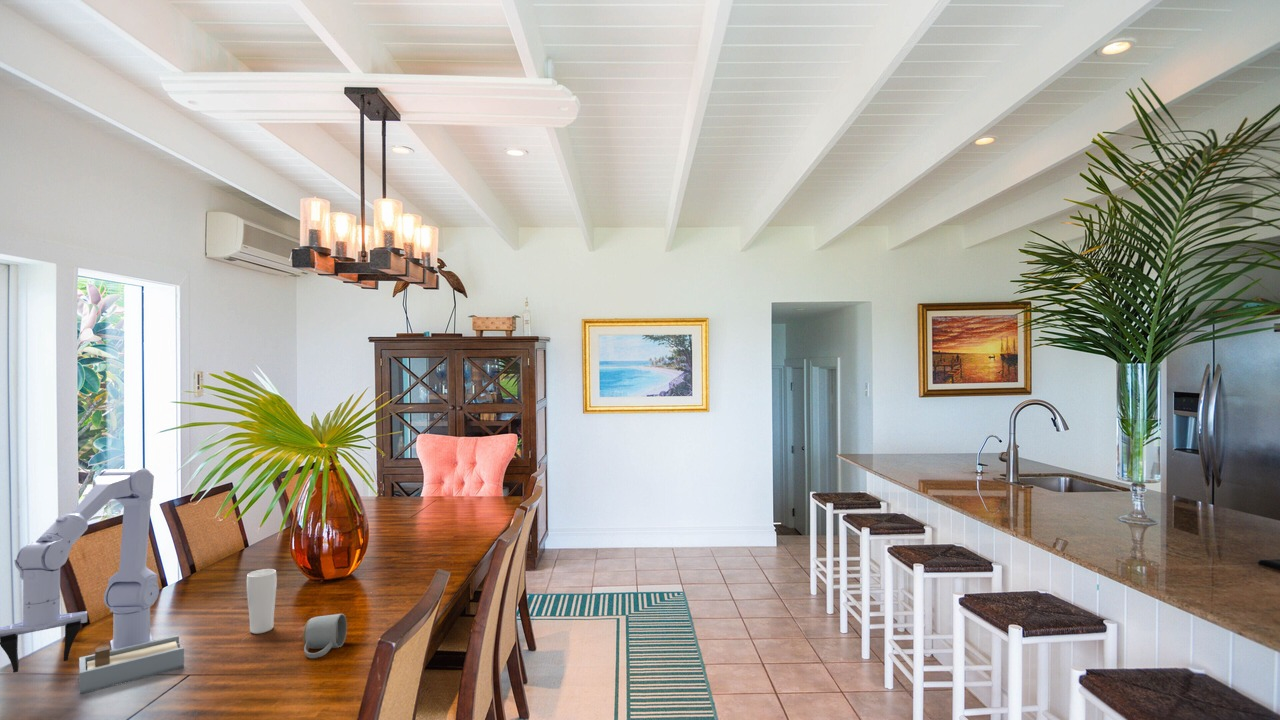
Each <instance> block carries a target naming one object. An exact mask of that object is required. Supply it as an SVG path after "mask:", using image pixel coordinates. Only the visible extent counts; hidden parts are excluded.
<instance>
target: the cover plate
mask: <svg viewBox="0 0 1280 720" xmlns="http://www.w3.org/2000/svg"><path fill="white" fill-rule="evenodd" d="M177 648H178V646H177V643H176V641H173V642H168V643H164V644H160V645H155V646H151V647H147V648H143V649H138V650H134V651H130V652H125V653H121V654H117V655H113V656H110V651H111V650H110V649H111V647H110V645H106V646H102V647H97V648H94V654H95V660H91V661H87V670H89V669H94V668H98V667H102V666H106V665H110V664H114V663H119V662H123V661H127V660H131V659H135V658H139V657H144V656H148V655H152V654H156V653H160V652H164V651H169V650H173V649H177Z"/></svg>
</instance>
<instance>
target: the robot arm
mask: <svg viewBox="0 0 1280 720" xmlns="http://www.w3.org/2000/svg"><path fill="white" fill-rule="evenodd" d="M154 480H155V476H154V475H153V474H152V472H151V471H150V470H148V469H147V468H143V467H141V468H105V469H103V470H101V471H100V472H99V473H98V475H97V476H95V477H94V478H93V480H92V489H90V491H89V492H88V493H87V494H86V496H85V497H84V498H83V499H82V500H81V501H80V502H79V504H78V505H77V506H76V507H75V508H74V510H73V511H72V512H71V513H65V514H63V515H60V516H58V517H57V518H56V519H55V522H54V523H53V524H51V525H50V526H49V527H48V529H46V531H45V532H44V533H42V535H40V537H39V538H37V540H36V541H34V542H33V541H32V542H31V543H28V544H26V545H25V546H23V547H21V548H20V549H19V550H18V553H17V555H16V558H15V559H14V566H15V567H16V569H17V570H18V572H19V578H20V579H21V580H22V583H23V584H22V621H20V622H17V623H12V624H10V625H5V626H0V647H1V649H2V650H3V651H4V652H5V654H6V655H7V657H8V660H9V661H10V664H11V666H12V667H11V668H12V673H13V674H14V673H17V672H19V667H20V666H19V663H20V661H19V653H18V645H19V636H20V635H25V634H29V633H35V632H39V631H44V630H49V629H54V628H55V629H56V628H60V627H64V649H63V662H67V661H69V655H70V652H71V649H72V645H73V643H74V641H75V639H76V637H77V636H78V633H79V632H80V629H81V624H84V623H88V611H87V610H85V611H79V612H78V611H77V612H71V613H70V612H69V613H61V567H62V566H64V565H65V564H66V563H67V560H68V558H69V555H70V552H71V551H72V549H73V547H72V546H73V545H75V543H76V542H77V541H78V540H79V539H80V538H81V536H82V535H84V534H85V532H87V530H88V528H89V524H88V521H89V520H90V519H91V518H92V517H94V516H95V515H96V514H97V513H99V511H100V510H101V509H102V508H104V507H105V506H106V504H108V503H109V502H110V501H111V500H115V501H117V502H118V503H119V504H120V505H122V506H123V511H122V512H123V514H122V515H123V516H122V525H121V528H122V530H121V540H120V541H121V542H120V551H119V566H118V568H119V569H118V571H117V572H115V573H114V574H113V575H112V576H110V577H109V578H108V579H107V580H108V582H107V587H106V590H105V591H104V594H103V603H104V605H105V607H107V608H109V612H110V613H113V614H112V615H113V617H112V621H113V625H112V626H113V630H112V631H113V632H112V633H113V634H112V635H113V636H112V639H111V640H109V641H110V649H111V650H115V649H119V648H124V647H128V646H132V645H137V644H141V643H146V642H150V641H154V639H153V637H152V633H151V607H152V606H154V603H156V601H157V599H158V597H159V595H160V586H159V583H158V574H157V573H156V572H154V571H153V570H151V569H150V568H148V567H147V561H148V560H147V559H148V548H149V546H148V545H149V544H148V543H149V531H150V521H151V520H150V517H151V506H152V505H151V503H152V499H153V495H154V493H153V492H154ZM111 650H110V651H111Z"/></svg>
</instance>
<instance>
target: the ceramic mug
mask: <svg viewBox="0 0 1280 720" xmlns="http://www.w3.org/2000/svg"><path fill="white" fill-rule="evenodd" d="M347 632H348V622H347V617H346V615H345V614H344V613H335V614H329V615H327V614H326V615H320V616H314V617H311V618H309V619H308V620H307V622H306V623H305V624H304V628H303V630H302V640H303V641H302V642H303V644H304V649H303V651H304V655H305V656H306V657H307V658H309V659H319V658H321V657H324V656H325V655H326V654H328V653H329V651H330V650H331V649H340V648H341V647H343V645H344V643H345V641H346V638H347ZM339 647H340V648H339ZM309 649H313V650H314V649H315V650H316V649H317V650H318V649H321V650H319V651H317V652H310V651H308V650H309ZM318 657H319V658H318Z"/></svg>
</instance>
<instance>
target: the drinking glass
mask: <svg viewBox="0 0 1280 720" xmlns="http://www.w3.org/2000/svg"><path fill="white" fill-rule="evenodd" d="M277 583H278V580H277V570H276V569H274V568H263V569H258V570H253V571H250V572H249V573H247V575H246V599H247V608H248V620H249V632H250V633H252V634H256V635H257V634H263V633H268V632H270V631H271V630H272V629H274V626H275V625H274V621H275V620H274V619H275V606H276V595H277Z"/></svg>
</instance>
